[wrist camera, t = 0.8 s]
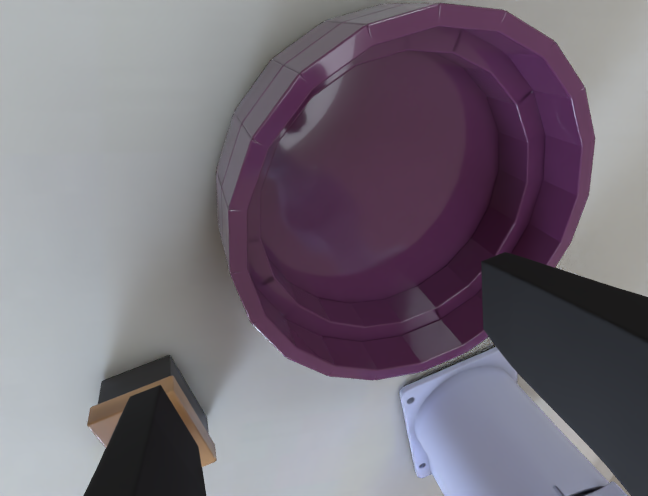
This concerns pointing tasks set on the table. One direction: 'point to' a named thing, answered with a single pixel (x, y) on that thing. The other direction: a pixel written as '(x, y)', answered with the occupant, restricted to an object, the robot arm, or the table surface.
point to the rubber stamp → (143, 379)
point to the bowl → (398, 181)
